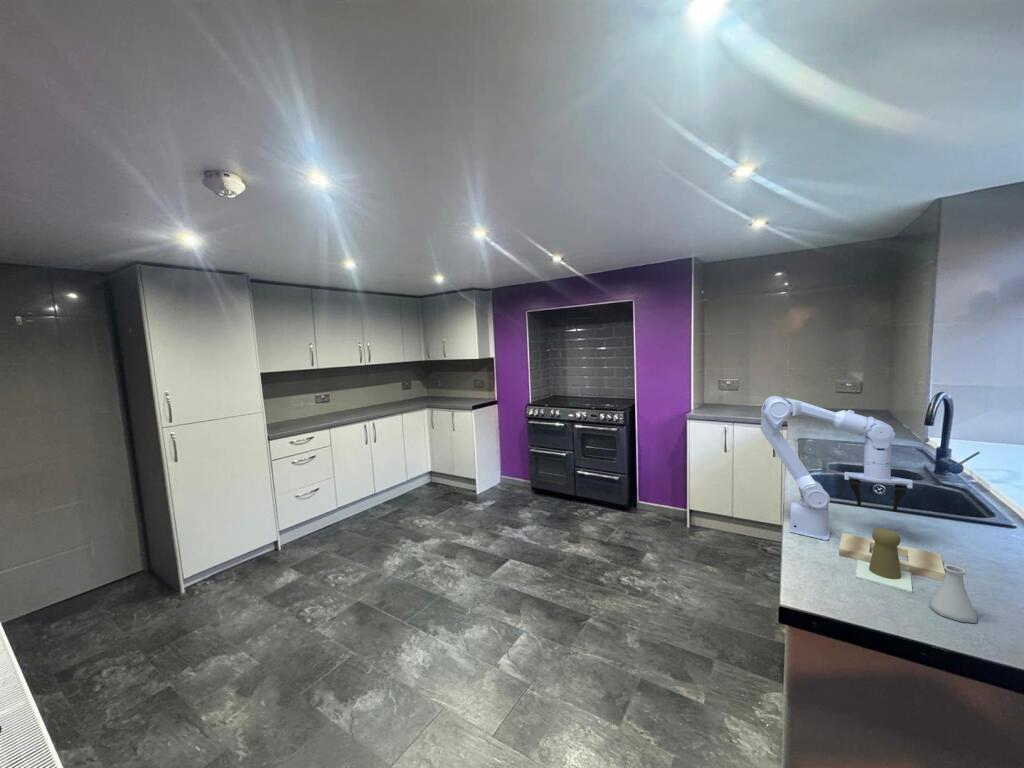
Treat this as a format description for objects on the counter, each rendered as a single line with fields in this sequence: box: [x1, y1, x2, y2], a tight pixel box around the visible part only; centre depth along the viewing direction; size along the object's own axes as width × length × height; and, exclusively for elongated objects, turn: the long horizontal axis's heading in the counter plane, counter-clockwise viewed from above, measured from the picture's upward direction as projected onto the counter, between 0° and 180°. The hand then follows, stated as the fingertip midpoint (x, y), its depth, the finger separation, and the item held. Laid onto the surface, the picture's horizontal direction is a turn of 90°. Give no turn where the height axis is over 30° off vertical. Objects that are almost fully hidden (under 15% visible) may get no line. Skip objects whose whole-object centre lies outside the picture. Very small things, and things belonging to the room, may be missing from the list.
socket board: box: [838, 532, 946, 582], centre depth 108 cm, size 20×12×2 cm, turn 47°
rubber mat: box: [855, 560, 913, 594], centre depth 100 cm, size 10×10×1 cm
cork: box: [869, 527, 901, 579], centre depth 100 cm, size 6×6×11 cm
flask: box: [928, 564, 978, 624], centre depth 86 cm, size 7×7×10 cm
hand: (876, 507), depth 116 cm, fingers open, 7 cm apart
